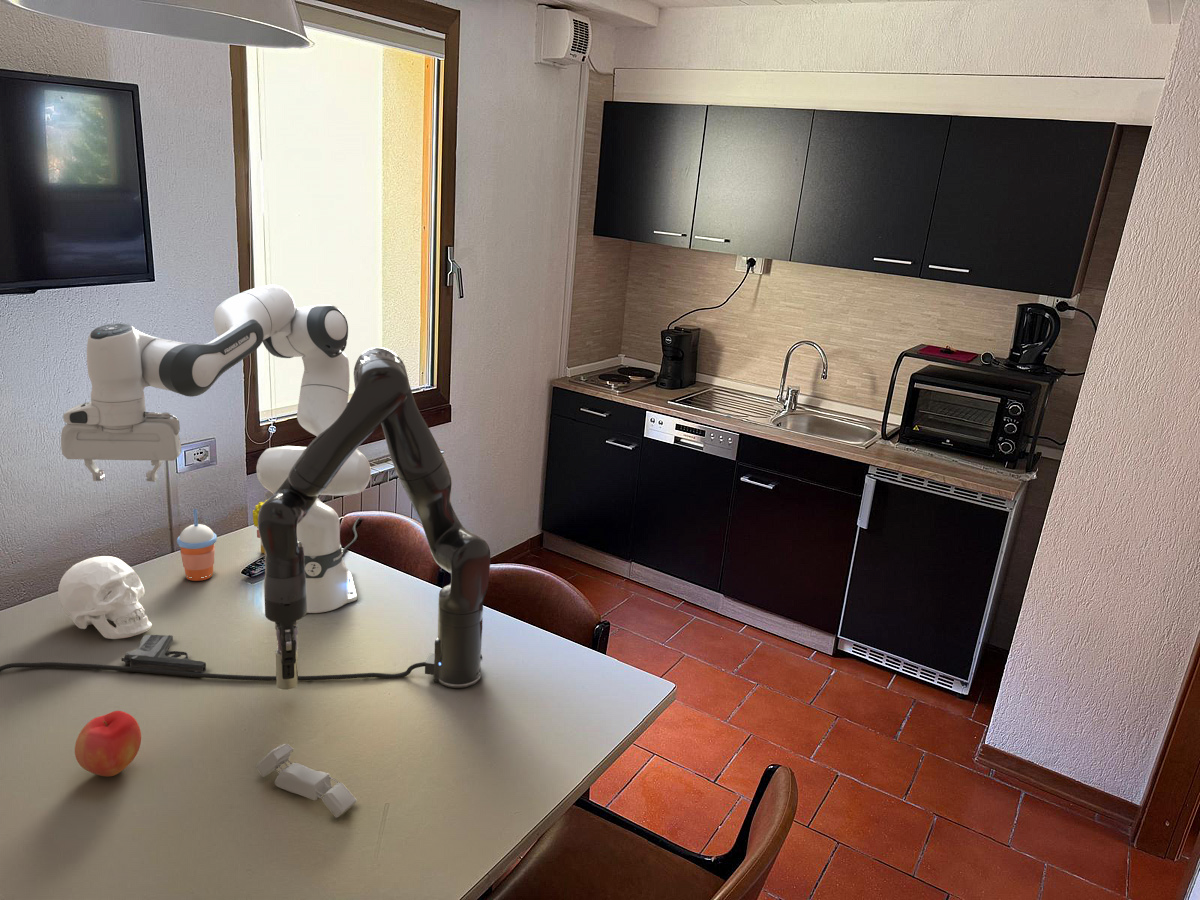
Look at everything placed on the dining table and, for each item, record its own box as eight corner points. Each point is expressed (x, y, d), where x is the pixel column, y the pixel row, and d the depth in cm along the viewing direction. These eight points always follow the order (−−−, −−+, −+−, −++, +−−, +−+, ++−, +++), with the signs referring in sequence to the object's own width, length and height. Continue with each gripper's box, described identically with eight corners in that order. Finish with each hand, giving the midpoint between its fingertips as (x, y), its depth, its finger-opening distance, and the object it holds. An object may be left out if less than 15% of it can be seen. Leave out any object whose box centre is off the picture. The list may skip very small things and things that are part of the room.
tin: (294, 690, 166) (293, 655, 164) (273, 689, 166) (272, 654, 163) (301, 679, 170) (300, 645, 167) (280, 677, 170) (279, 643, 167)
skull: (126, 649, 182) (122, 581, 178) (45, 628, 187) (39, 561, 183) (173, 623, 194) (170, 559, 190) (96, 604, 200) (91, 541, 196)
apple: (126, 745, 153) (121, 697, 150) (154, 768, 148) (149, 719, 145) (68, 771, 145) (62, 721, 142) (95, 797, 140) (89, 745, 137)
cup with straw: (204, 586, 211) (199, 518, 206) (171, 580, 213) (166, 513, 208) (226, 571, 220) (223, 506, 214) (195, 565, 221) (190, 500, 216)
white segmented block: (254, 774, 148) (255, 742, 145) (271, 762, 151) (272, 730, 148) (339, 829, 140) (342, 796, 137) (356, 815, 143) (358, 783, 140)
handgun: (226, 647, 186) (201, 677, 175) (146, 640, 186) (115, 670, 175) (226, 638, 186) (200, 667, 174) (145, 631, 185) (114, 660, 174)
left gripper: (183, 408, 166) (187, 475, 170) (67, 405, 162) (75, 474, 166) (173, 417, 160) (179, 486, 164) (53, 414, 156) (61, 485, 160)
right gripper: (262, 578, 167) (265, 655, 172) (266, 611, 154) (268, 694, 159) (303, 574, 170) (304, 650, 175) (309, 607, 157) (311, 688, 162)
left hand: (125, 480), depth 165 cm, fingers open, 8 cm apart
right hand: (287, 671), depth 167 cm, fingers closed on tin, 4 cm apart
